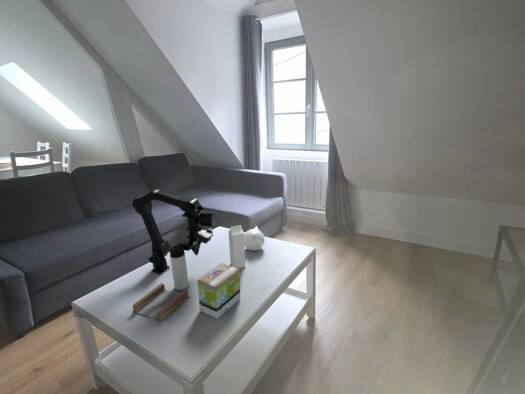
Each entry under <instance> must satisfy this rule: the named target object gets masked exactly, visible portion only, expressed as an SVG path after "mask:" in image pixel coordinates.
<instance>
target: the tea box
mask: <svg viewBox="0 0 525 394" xmlns="http://www.w3.org/2000/svg"><path fill="white" fill-rule="evenodd" d="M240 274H241V273H240V268H238V269H237V268H234V267H232V265H228V264H225V263H222V262H221V263H220V264H218V265H217V266H215V267H214V268H212V269H211V270H209V271H208V272H206V273H205V274H204V275H202V276H201V277H199V278H198V279H197V292H198V307H199V311H200V312H202V313H204V314H206V315H208V316H210V317H212V318H214V319H216V320H218V319H219V318H221V316H222V315H224V314H225V313H226V312H227V311H228V310H229V309H230V308H231V307H233V306H234V305H235V304H236V303H237V302H238V301H240V300H241V275H240Z"/></svg>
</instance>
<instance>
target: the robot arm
mask: <svg viewBox="0 0 525 394" xmlns="http://www.w3.org/2000/svg"><path fill="white" fill-rule="evenodd" d="M153 200H154V201H155V200H156V201H158V202H160V203H165V204H168V205H171V206H174V207H177V208H178V209H180V210H181V211H182V212H184V213H183V214H182V215H181V218H186V224H187V227H186V228H185V231H186V232H187V236H186V239H188V240H186V239H183V240H182V241H180V242H179V243H178V244H177V245H179V244H180V245H183V247H184V251H192V252H193V254H194V255H195V256H198V255H199V253H200V247H201V244H208V243H209V242H210V241H211V239H212V237H213V236H214V231H213V229H212V228H213V227H215V226H216V221H217V217H216V215H215V214H214V211H206V210H205V208H204V207H203V206H202V205H201V203H200V200H199V199H197V198H196V197H189V196H186V197H182V196H178V195H175V194H172V193H168V192H166V191H162V190H160V189H157V188H155V189H152V190H150V191H149V192H148V193H147V194H142V195H139V196H138V197H135V198H134V199H133V200H132V202H131V205H132V207H133V209H134V210H135V212H136V213H137V214H138V215H140V216H141V219H142V221H143V224H144V226H145V228H146V231H147V233H148V235H149V238H150V241H151V252H152V255H151V256H149V258H148V261H149V263H152V268H153V269H151V271H150V272H152V273H155V274H160V275H161V274H163V273H164V272H166V271H167V270H168V269H169V268H170V266H168V262H167V258H166V257H167V256H168V254H169V253H170V249H171V245H170V242H169V241H168V239H166V240H165V239H163V237H162V235H161V233H160V230H159V228H158V225H157V222H156V220H155V217H154V215H153V212H152V211H153V209H152V208H153V203H152V201H153ZM203 227H211V228H203Z"/></svg>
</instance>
